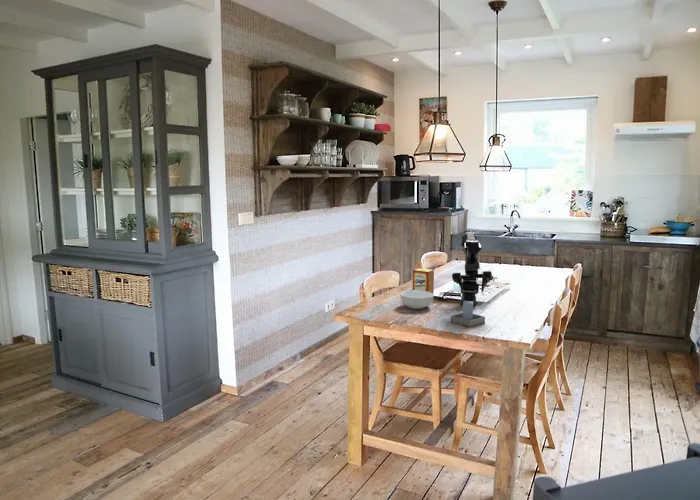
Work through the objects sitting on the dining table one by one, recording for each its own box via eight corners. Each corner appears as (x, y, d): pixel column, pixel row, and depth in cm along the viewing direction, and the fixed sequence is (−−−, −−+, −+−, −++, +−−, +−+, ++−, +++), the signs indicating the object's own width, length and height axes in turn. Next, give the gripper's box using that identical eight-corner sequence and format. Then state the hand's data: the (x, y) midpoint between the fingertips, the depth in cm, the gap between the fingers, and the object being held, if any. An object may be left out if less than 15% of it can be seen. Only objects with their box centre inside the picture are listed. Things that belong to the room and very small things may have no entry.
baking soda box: (412, 297, 293) (412, 269, 290) (418, 295, 298) (418, 267, 295) (427, 300, 287) (428, 271, 285) (433, 297, 292) (433, 269, 290)
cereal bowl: (405, 312, 264) (406, 298, 262) (396, 303, 280) (396, 290, 279) (438, 310, 267) (438, 296, 266) (426, 302, 283) (427, 289, 282)
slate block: (462, 319, 248) (463, 300, 247) (472, 320, 247) (473, 301, 246) (462, 321, 245) (463, 302, 243) (472, 322, 244) (473, 303, 242)
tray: (450, 322, 247) (450, 315, 246) (465, 317, 254) (465, 311, 254) (470, 327, 238) (470, 321, 238) (484, 322, 246) (485, 316, 245)
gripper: (450, 257, 257) (449, 287, 250) (489, 255, 250) (490, 285, 243) (454, 267, 266) (453, 296, 259) (492, 265, 259) (493, 294, 252)
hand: (472, 292), depth 253 cm, fingers open, 9 cm apart
